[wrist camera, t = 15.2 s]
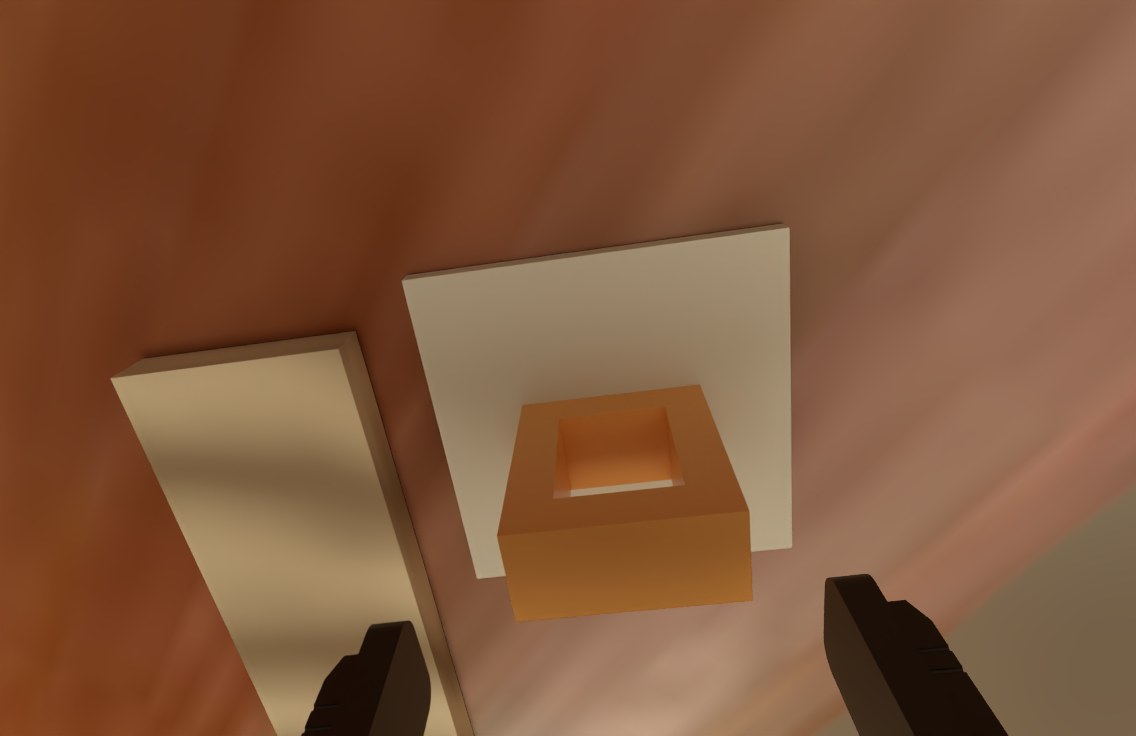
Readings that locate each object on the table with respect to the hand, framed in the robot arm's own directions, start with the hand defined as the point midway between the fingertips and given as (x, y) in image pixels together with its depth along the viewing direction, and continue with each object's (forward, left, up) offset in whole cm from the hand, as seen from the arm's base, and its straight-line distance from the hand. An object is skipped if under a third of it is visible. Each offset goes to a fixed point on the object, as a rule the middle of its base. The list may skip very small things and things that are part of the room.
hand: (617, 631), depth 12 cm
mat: (0, 0, -9) cm, 9 cm away
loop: (0, 0, -8) cm, 8 cm away
